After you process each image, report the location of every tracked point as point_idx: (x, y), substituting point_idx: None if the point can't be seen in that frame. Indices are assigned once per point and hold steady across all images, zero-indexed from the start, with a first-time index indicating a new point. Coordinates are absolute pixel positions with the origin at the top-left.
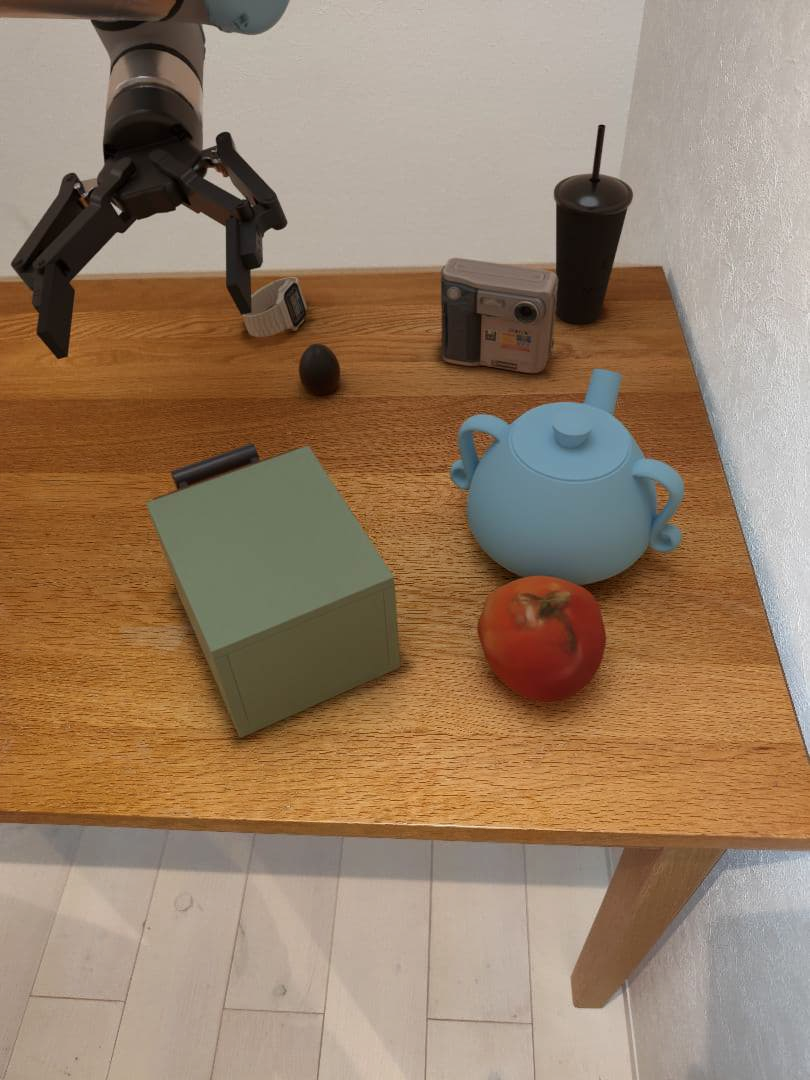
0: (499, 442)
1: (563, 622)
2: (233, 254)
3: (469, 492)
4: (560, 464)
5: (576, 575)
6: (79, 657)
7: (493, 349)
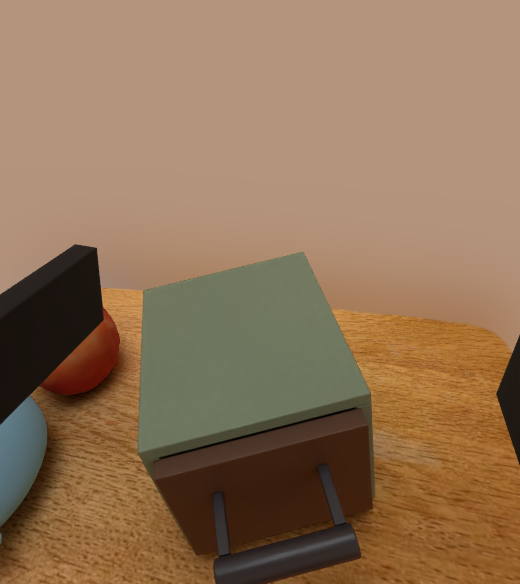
0: None
1: None
2: (24, 283)
3: (5, 481)
4: None
5: None
6: (480, 438)
7: None
